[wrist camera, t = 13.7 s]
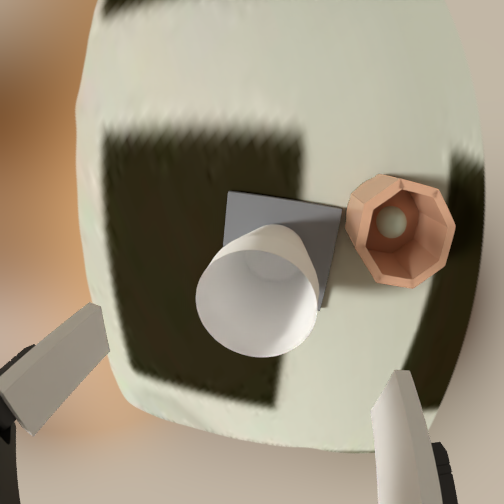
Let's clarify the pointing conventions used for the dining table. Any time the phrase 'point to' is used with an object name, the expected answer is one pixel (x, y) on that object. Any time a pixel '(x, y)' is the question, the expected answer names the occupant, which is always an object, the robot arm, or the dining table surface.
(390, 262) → the pot
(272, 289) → the cup
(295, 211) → the mat
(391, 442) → the robot arm
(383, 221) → the ball
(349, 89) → the dining table surface
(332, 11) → the dining table surface
